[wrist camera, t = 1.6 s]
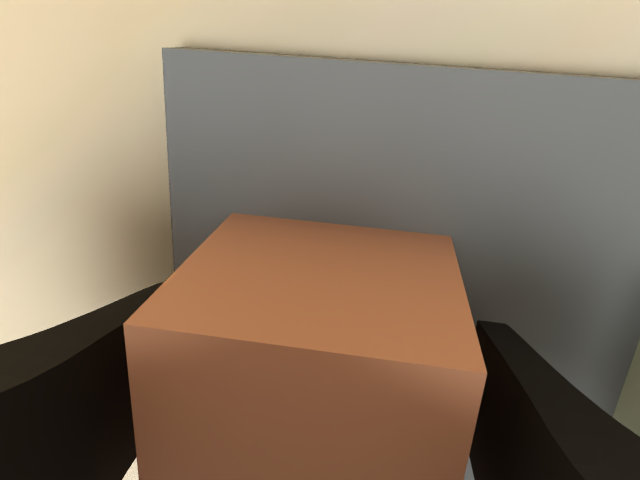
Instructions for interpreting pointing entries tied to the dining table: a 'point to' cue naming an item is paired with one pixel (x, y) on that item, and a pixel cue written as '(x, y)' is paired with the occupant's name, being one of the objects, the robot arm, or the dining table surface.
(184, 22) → the dining table surface
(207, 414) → the block
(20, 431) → the robot arm
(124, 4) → the dining table surface
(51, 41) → the dining table surface
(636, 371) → the block
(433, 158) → the board
